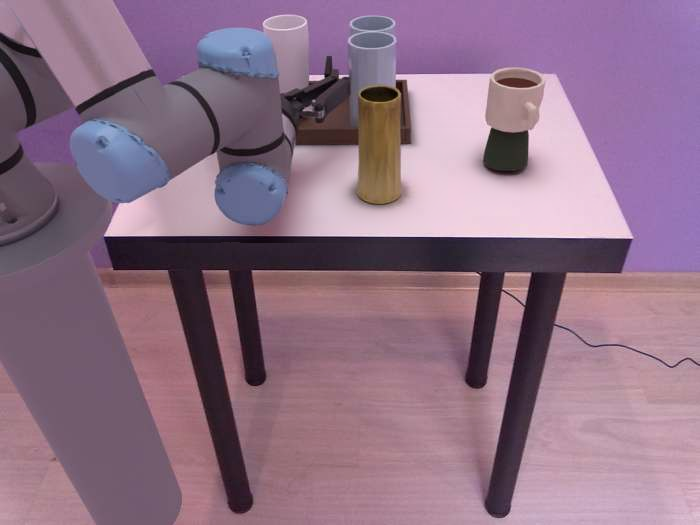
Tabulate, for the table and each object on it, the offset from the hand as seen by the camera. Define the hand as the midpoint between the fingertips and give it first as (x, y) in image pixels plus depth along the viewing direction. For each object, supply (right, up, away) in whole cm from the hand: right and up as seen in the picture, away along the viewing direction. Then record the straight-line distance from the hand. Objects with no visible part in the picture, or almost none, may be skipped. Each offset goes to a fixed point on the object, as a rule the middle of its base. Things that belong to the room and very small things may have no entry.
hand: (284, 65), depth 94 cm
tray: (+7, -6, +8) cm, 12 cm away
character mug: (+32, -16, -4) cm, 36 cm away
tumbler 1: (+14, -4, +10) cm, 18 cm away
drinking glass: (+1, -6, +8) cm, 10 cm away
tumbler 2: (+13, -8, +5) cm, 17 cm away
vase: (+14, -20, -9) cm, 26 cm away
